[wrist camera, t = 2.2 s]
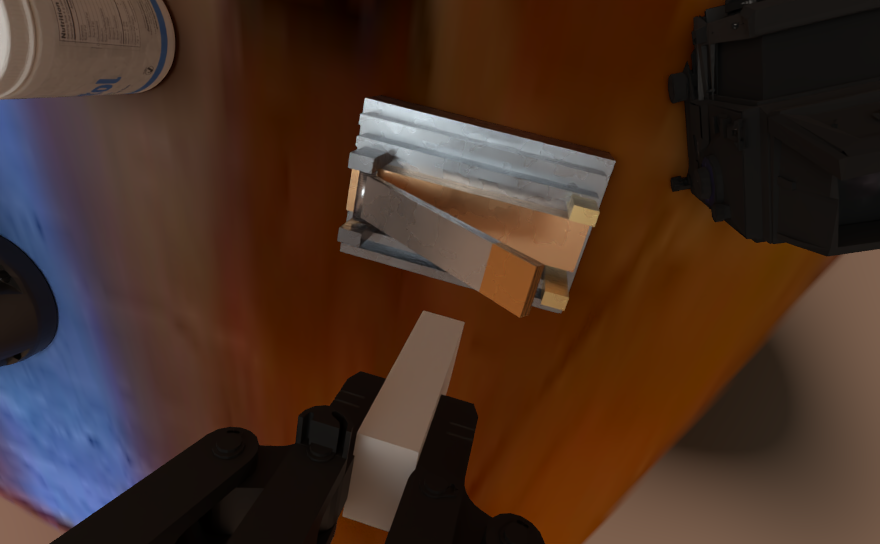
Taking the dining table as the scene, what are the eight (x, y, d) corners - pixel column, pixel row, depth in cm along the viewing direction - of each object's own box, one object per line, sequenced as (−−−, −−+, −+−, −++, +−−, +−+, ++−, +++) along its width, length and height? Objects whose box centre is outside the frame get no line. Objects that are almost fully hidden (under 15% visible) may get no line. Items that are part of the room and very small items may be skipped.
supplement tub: (113, 107, 45) (-74, 123, 31) (56, -9, 42) (-175, -46, 28) (201, 71, 42) (38, 71, 29) (147, -55, 39) (-61, -121, 26)
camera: (824, -40, 32) (1206, -193, 13) (821, 174, 36) (1106, 282, 18) (653, 5, 34) (776, -71, 16) (669, 200, 39) (781, 317, 20)
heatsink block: (358, 236, 45) (316, 273, 36) (381, 95, 40) (338, 101, 32) (560, 292, 43) (562, 345, 35) (609, 152, 38) (626, 175, 30)
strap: (362, 215, 37) (349, 216, 36) (370, 167, 36) (356, 167, 35) (529, 318, 28) (516, 323, 27) (548, 259, 26) (535, 262, 26)
